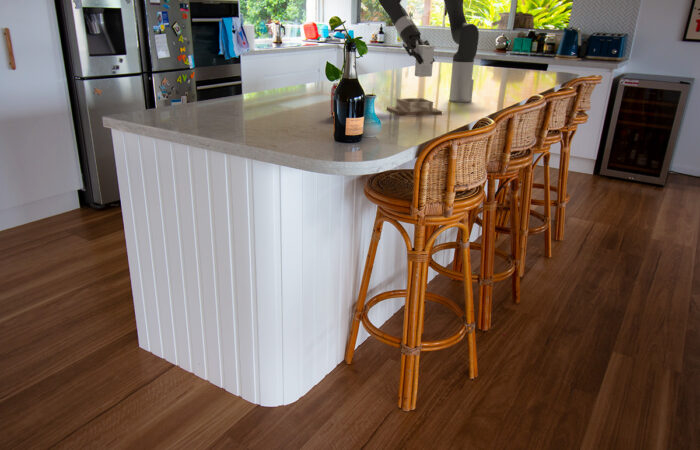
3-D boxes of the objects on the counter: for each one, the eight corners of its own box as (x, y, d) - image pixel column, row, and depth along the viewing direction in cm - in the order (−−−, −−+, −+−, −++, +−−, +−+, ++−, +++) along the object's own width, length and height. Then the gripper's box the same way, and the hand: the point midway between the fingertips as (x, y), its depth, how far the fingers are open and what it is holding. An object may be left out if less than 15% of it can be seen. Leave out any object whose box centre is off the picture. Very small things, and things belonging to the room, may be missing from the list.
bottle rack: (427, 108, 228) (428, 97, 226) (441, 114, 215) (442, 102, 213) (386, 109, 223) (387, 98, 221) (399, 115, 210) (399, 103, 208)
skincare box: (420, 77, 222) (423, 45, 217) (413, 75, 225) (416, 45, 220) (432, 76, 225) (435, 45, 220) (425, 75, 228) (427, 44, 224)
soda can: (349, 118, 202) (350, 85, 198) (330, 118, 202) (330, 85, 198) (349, 115, 209) (350, 83, 205) (331, 114, 209) (331, 82, 205)
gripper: (401, 23, 218) (421, 56, 214) (424, 23, 227) (444, 55, 224) (390, 36, 223) (410, 69, 220) (413, 36, 233) (432, 67, 229)
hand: (427, 62), depth 222 cm, fingers closed on skincare box, 6 cm apart
